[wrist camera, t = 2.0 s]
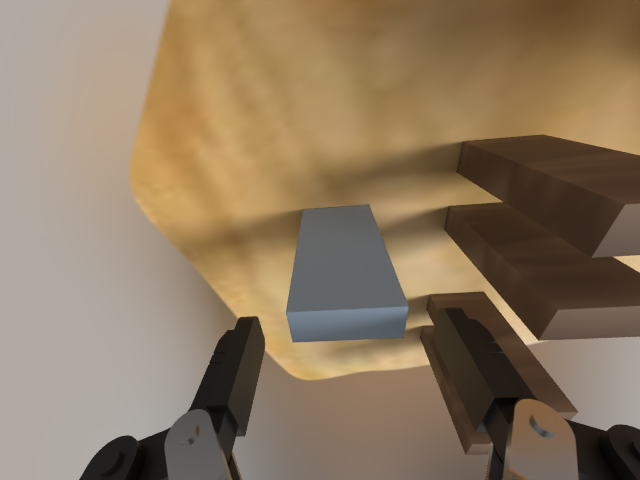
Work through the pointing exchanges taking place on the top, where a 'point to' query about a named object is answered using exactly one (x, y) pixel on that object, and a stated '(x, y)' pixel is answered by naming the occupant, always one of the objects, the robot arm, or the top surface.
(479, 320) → the domino
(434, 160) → the top surface
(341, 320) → the domino
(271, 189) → the top surface
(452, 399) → the domino
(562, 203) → the domino
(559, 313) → the domino
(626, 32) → the top surface
